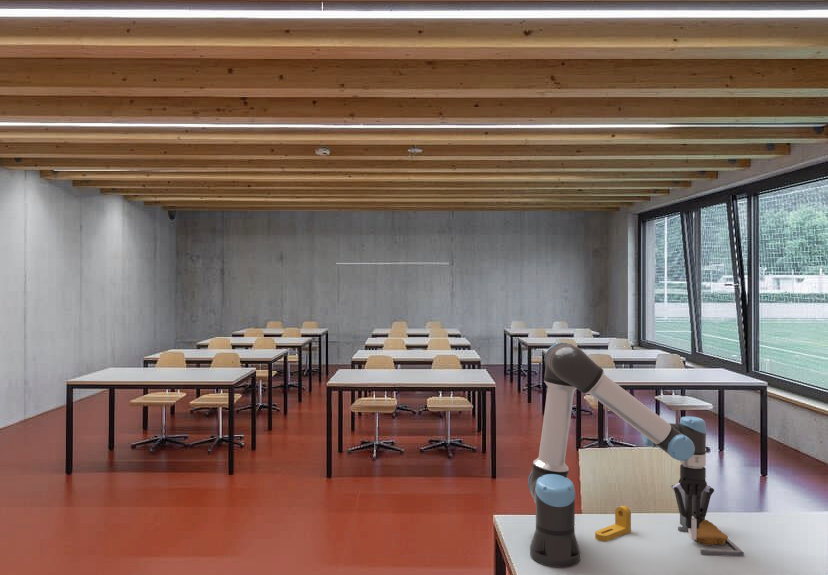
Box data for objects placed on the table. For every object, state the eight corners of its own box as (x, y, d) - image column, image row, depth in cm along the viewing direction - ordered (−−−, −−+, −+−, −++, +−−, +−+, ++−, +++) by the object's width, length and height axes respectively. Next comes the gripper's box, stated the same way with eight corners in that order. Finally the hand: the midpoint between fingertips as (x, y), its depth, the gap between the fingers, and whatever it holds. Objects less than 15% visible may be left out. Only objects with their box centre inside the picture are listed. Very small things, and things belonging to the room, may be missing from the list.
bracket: (619, 527, 202) (619, 503, 202) (630, 532, 198) (630, 507, 198) (592, 538, 193) (592, 513, 193) (603, 542, 189) (603, 517, 190)
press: (701, 554, 181) (702, 503, 181) (671, 523, 206) (671, 477, 206) (743, 556, 180) (743, 504, 180) (707, 524, 205) (707, 478, 205)
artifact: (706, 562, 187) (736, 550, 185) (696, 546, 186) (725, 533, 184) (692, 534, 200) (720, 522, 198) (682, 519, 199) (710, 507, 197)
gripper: (676, 468, 186) (676, 542, 186) (718, 469, 185) (718, 543, 185) (668, 461, 194) (667, 532, 193) (708, 462, 193) (707, 533, 193)
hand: (692, 537), depth 189 cm, fingers closed
